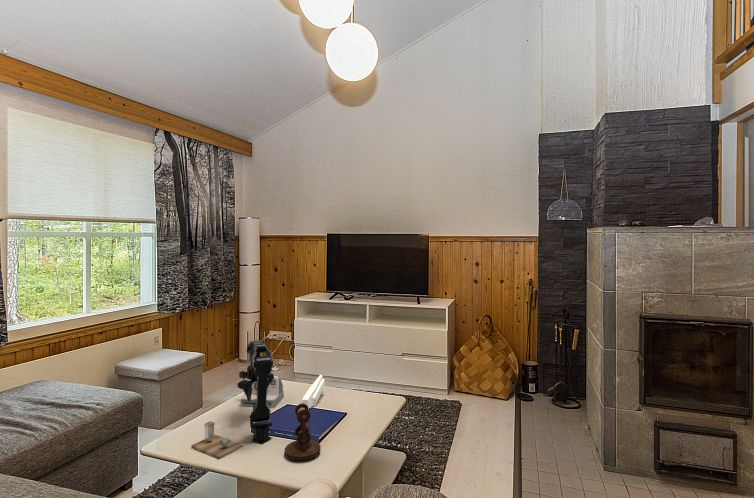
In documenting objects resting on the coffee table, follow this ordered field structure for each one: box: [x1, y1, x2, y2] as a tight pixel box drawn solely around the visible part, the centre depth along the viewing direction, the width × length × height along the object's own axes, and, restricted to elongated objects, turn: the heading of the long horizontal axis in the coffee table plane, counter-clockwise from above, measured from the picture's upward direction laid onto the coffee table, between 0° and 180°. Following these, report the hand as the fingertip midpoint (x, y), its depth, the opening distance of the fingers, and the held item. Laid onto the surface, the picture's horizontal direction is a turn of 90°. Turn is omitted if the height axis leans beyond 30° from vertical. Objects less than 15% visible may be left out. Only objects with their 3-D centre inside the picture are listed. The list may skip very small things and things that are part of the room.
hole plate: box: [190, 434, 244, 460], centre depth 182 cm, size 18×12×5 cm, turn 59°
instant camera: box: [240, 375, 285, 409], centre depth 235 cm, size 21×21×15 cm
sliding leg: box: [203, 420, 215, 442], centre depth 185 cm, size 3×3×8 cm
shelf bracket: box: [302, 374, 326, 409], centre depth 233 cm, size 6×25×13 cm, turn 168°
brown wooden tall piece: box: [284, 402, 321, 462], centre depth 177 cm, size 15×15×20 cm
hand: (256, 397), depth 208 cm, fingers open, 9 cm apart
